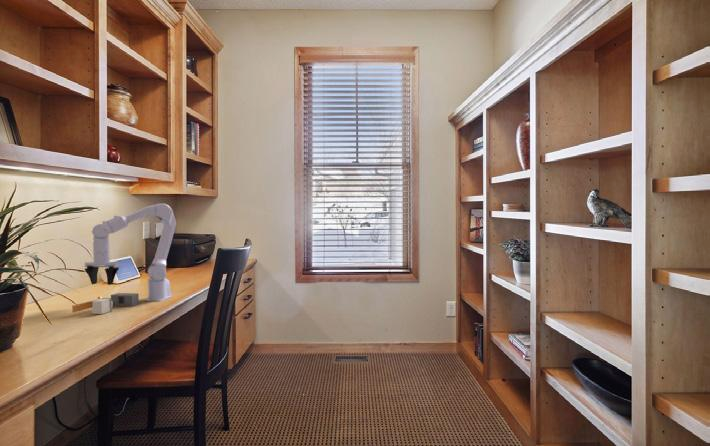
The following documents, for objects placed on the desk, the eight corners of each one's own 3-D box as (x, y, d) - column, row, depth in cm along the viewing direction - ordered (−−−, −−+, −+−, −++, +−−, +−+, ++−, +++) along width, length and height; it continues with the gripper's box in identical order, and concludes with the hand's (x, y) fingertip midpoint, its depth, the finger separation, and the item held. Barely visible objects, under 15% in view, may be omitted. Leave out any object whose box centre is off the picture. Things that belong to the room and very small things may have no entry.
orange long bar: (100, 305, 164) (99, 296, 164) (102, 305, 163) (102, 296, 163) (72, 313, 152) (71, 303, 152) (74, 313, 152) (74, 303, 151)
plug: (105, 309, 162) (105, 296, 162) (115, 309, 162) (115, 297, 161) (92, 313, 155) (91, 300, 155) (102, 314, 155) (101, 301, 154)
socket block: (116, 303, 173) (115, 292, 173) (138, 304, 172) (138, 293, 171) (96, 309, 162) (96, 298, 162) (120, 310, 161) (120, 299, 160)
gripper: (78, 253, 164) (79, 285, 165) (109, 253, 162) (110, 286, 163) (91, 251, 171) (92, 282, 172) (122, 251, 169) (122, 283, 170)
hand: (102, 284), depth 168 cm, fingers open, 7 cm apart
